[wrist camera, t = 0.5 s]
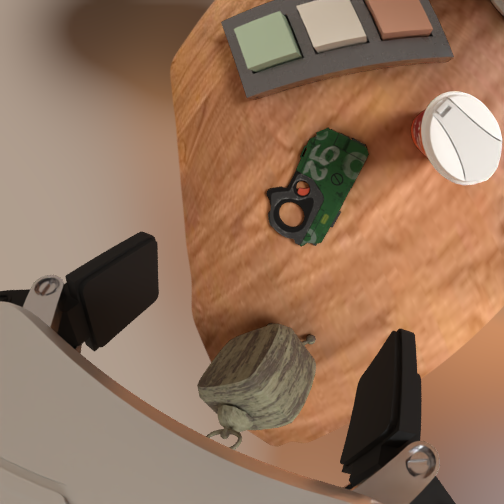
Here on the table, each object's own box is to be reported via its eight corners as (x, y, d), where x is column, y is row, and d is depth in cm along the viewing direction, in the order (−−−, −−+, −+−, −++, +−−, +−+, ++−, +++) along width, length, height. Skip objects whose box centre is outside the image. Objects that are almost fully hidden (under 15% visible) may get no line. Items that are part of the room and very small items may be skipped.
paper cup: (390, 130, 28) (404, 131, 17) (428, 90, 24) (462, 70, 13) (432, 177, 28) (467, 209, 17) (470, 139, 24) (522, 150, 13)
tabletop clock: (262, 358, 53) (200, 463, 32) (235, 325, 52) (157, 428, 31) (326, 340, 45) (277, 473, 24) (298, 300, 44) (227, 435, 23)
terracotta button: (409, -4, 17) (411, -14, 15) (428, 36, 19) (433, 29, 17) (364, 1, 20) (363, -10, 18) (382, 41, 22) (383, 33, 20)
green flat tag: (299, 112, 31) (374, 149, 29) (302, 113, 32) (373, 148, 31) (254, 220, 40) (316, 255, 38) (257, 217, 41) (318, 250, 40)
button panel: (411, -16, 17) (413, -26, 15) (447, 61, 21) (453, 56, 19) (231, 27, 29) (221, 22, 27) (256, 99, 33) (246, 97, 31)
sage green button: (287, 19, 25) (279, 11, 22) (302, 57, 27) (296, 52, 24) (244, 34, 28) (233, 28, 25) (257, 72, 30) (247, 68, 27)
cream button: (348, 3, 21) (346, -7, 19) (366, 43, 23) (366, 36, 21) (302, 14, 24) (296, 5, 21) (318, 53, 26) (313, 47, 23)
